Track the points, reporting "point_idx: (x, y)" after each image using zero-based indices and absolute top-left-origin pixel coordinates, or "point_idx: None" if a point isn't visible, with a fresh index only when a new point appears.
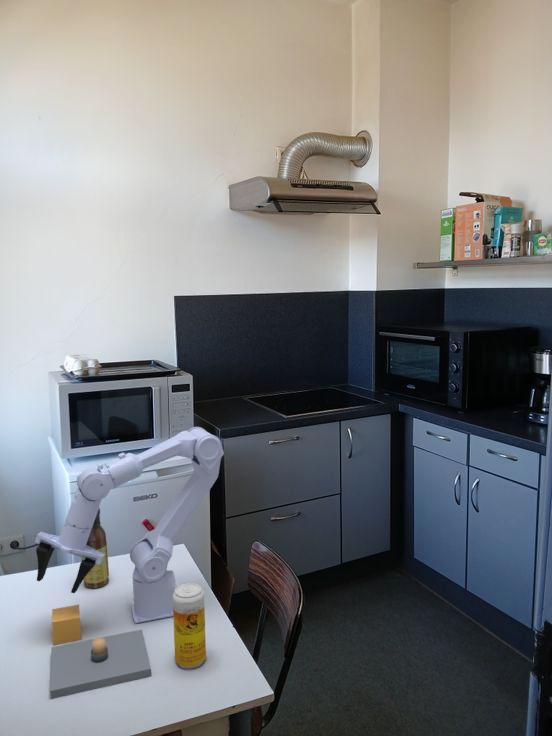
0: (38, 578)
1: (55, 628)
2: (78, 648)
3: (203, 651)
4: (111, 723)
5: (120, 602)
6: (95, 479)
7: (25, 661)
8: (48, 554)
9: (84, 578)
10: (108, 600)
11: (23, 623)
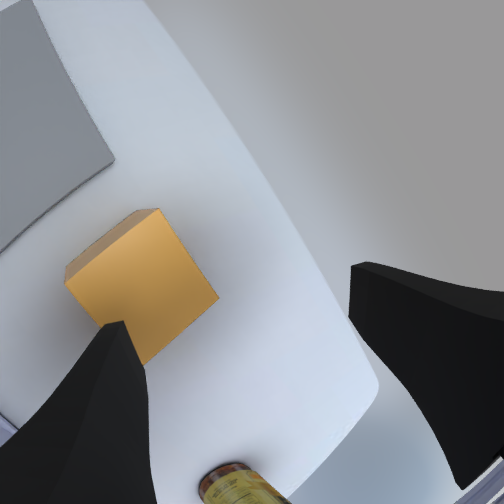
0: (370, 265)
1: (141, 215)
2: (19, 179)
3: None
4: None
5: None
6: None
7: (172, 117)
8: (488, 385)
9: (251, 474)
10: None
11: (283, 280)
